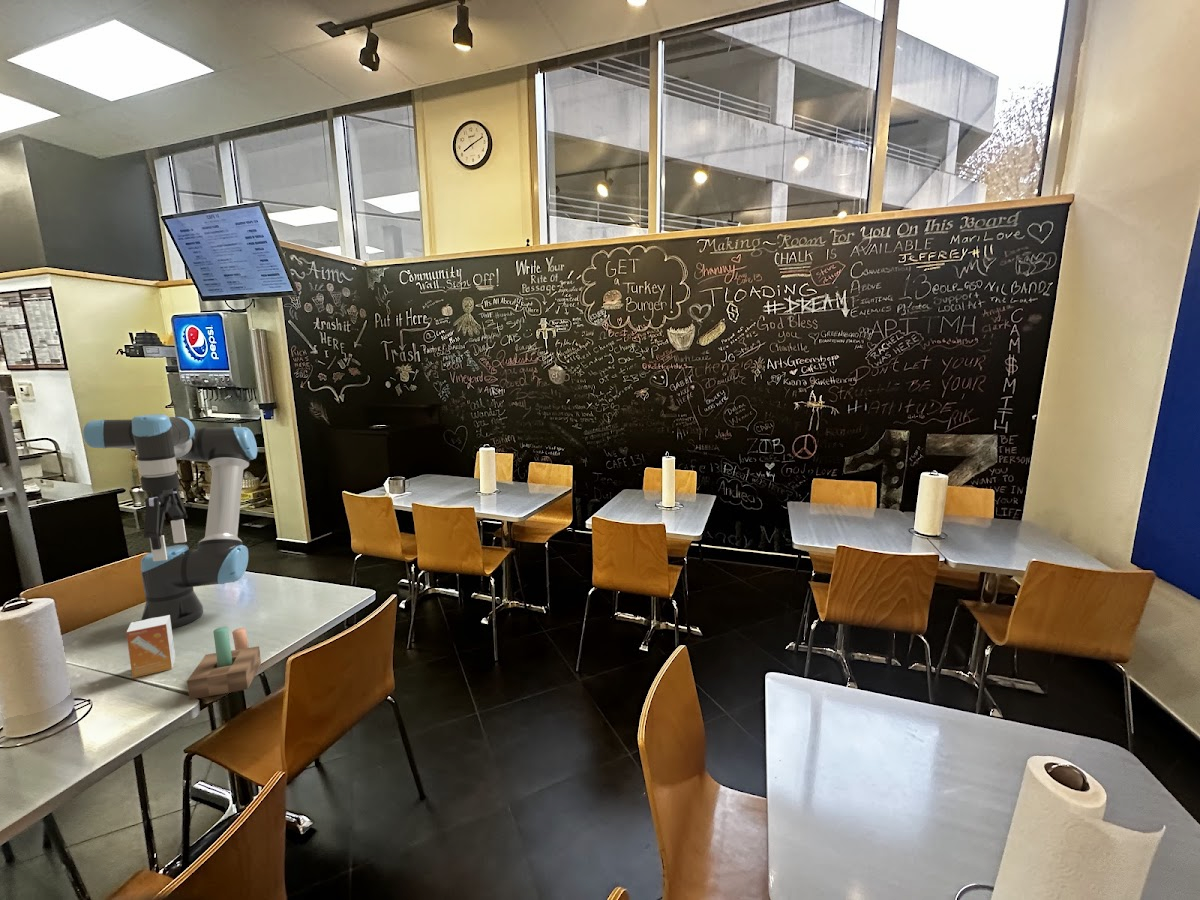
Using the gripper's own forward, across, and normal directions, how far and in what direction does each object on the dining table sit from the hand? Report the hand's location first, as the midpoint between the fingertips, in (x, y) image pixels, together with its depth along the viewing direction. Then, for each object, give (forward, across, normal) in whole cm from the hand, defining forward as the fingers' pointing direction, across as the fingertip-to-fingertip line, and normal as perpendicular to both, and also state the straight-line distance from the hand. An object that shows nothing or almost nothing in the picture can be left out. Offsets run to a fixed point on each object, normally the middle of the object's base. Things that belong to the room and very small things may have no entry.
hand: (170, 550), depth 137 cm
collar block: (+30, +19, +14) cm, 38 cm away
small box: (+31, +5, -5) cm, 32 cm away
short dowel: (+30, +6, +15) cm, 34 cm away
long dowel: (+30, +19, +14) cm, 38 cm away
